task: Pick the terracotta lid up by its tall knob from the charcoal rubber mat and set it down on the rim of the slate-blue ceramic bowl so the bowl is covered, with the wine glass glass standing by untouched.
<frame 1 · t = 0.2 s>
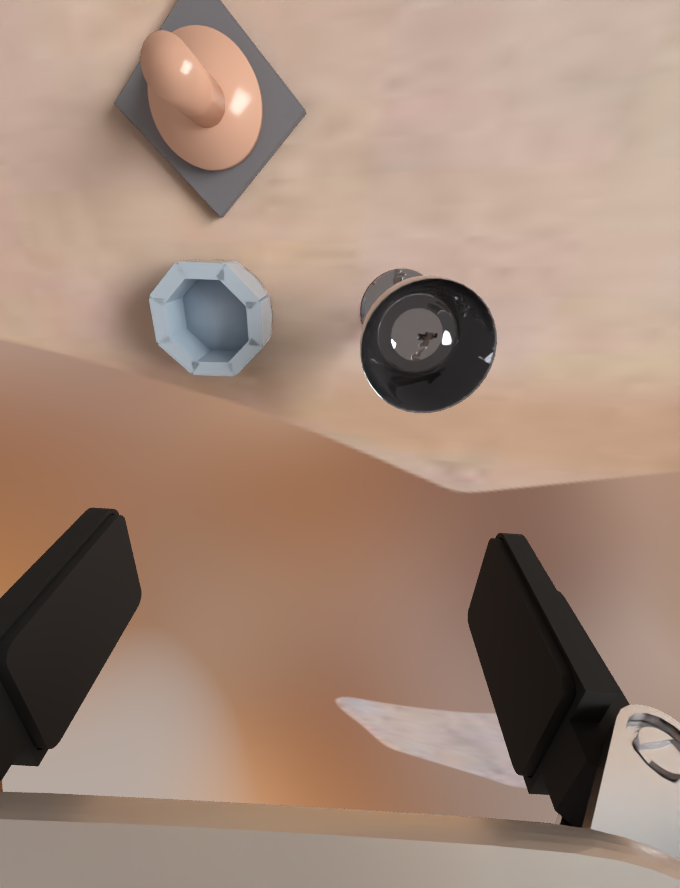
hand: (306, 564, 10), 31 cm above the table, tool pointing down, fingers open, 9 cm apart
lid: (209, 106, 29), point 1 cm above the table, touching mat
bowl: (224, 312, 37), on the table
mat: (213, 110, 30), on the table
wine glass: (399, 310, 37), on the table
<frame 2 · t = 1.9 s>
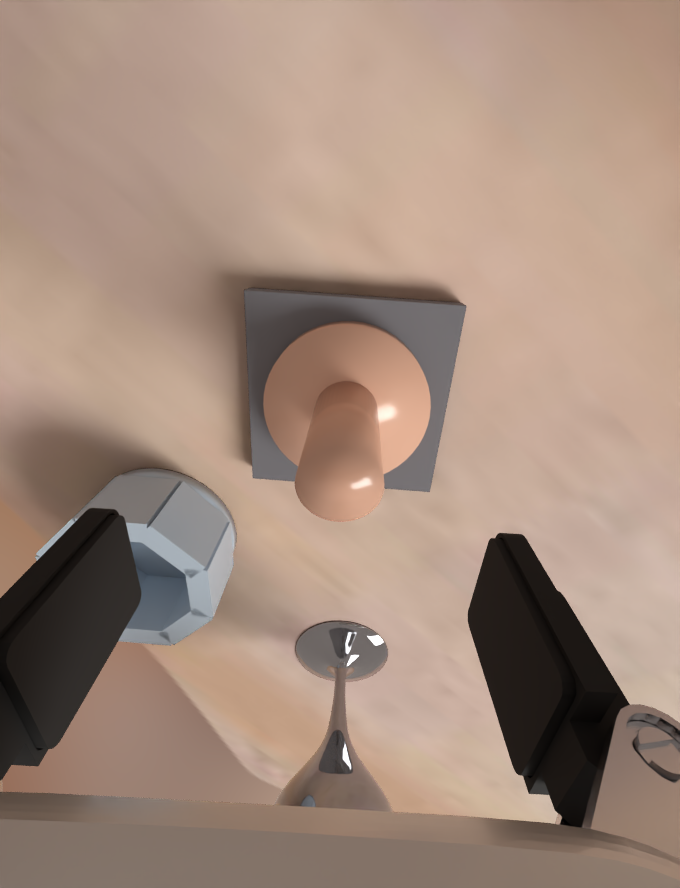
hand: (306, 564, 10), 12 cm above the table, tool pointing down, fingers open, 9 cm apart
lid: (347, 402, 20), point 1 cm above the table, touching mat
bowl: (167, 527, 26), on the table
mat: (347, 395, 21), on the table
wine glass: (341, 650, 31), on the table
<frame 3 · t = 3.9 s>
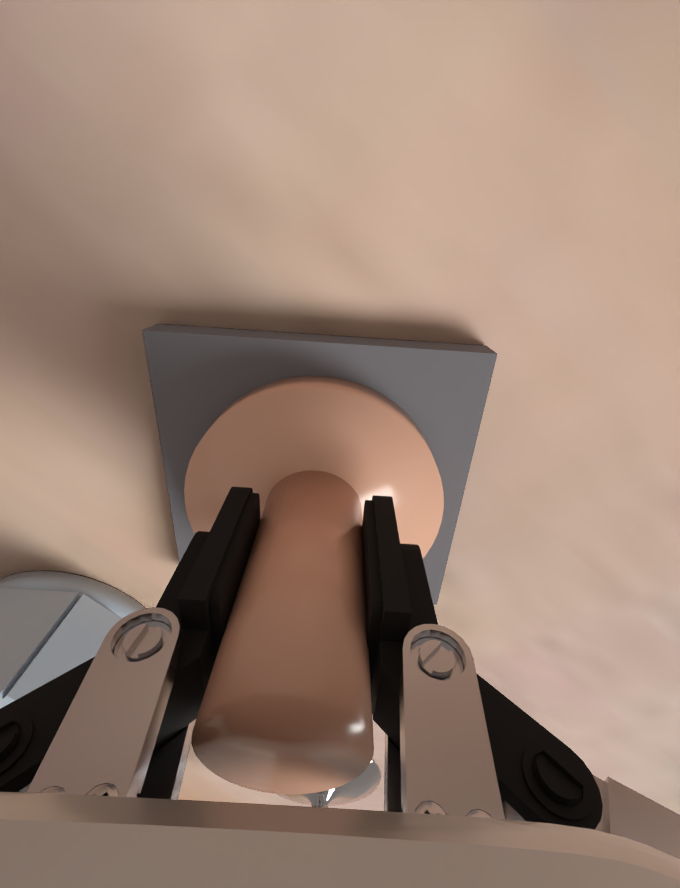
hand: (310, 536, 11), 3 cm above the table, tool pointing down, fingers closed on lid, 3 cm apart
lid: (316, 490, 13), point 1 cm above the table, touching gripper, mat
bowl: (76, 642, 19), on the table
mat: (316, 475, 14), on the table
wine glass: (321, 772, 24), on the table
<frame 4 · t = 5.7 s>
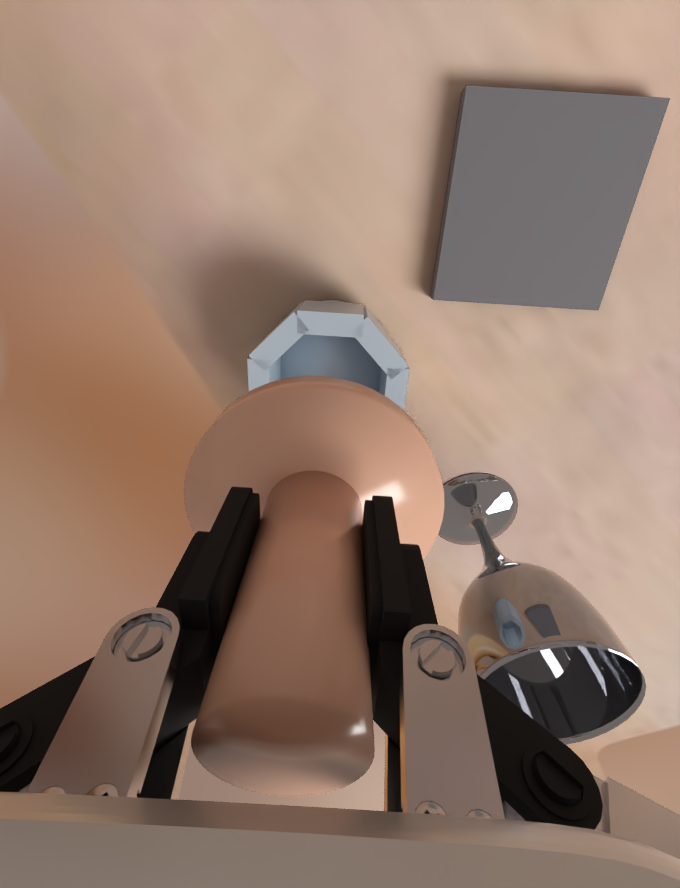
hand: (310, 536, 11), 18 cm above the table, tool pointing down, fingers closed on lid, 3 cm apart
lid: (316, 490, 13), point 15 cm above the table, touching gripper
bowl: (331, 369, 27), on the table
mat: (532, 210, 23), on the table
wine glass: (471, 509, 32), on the table
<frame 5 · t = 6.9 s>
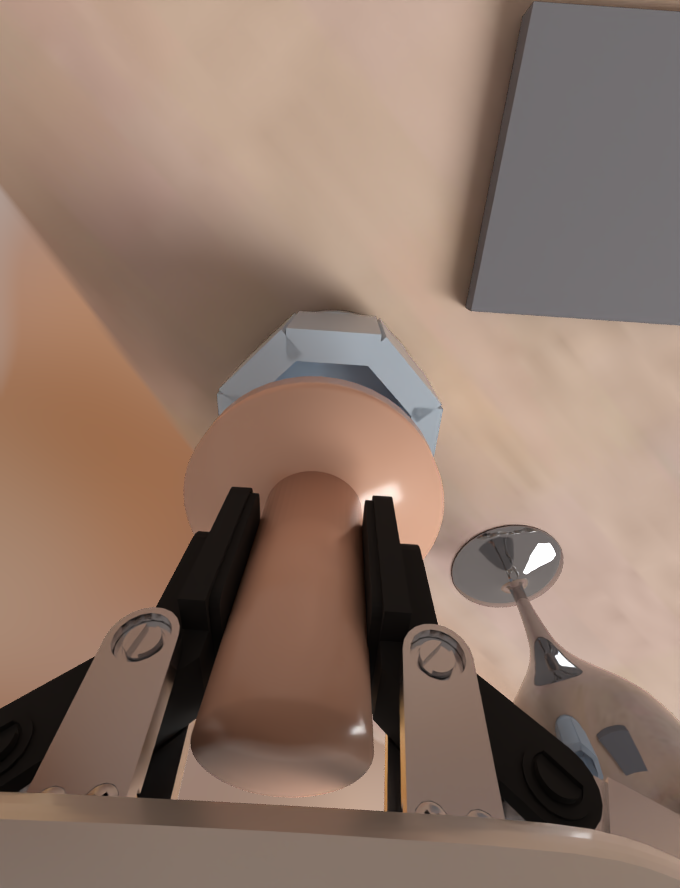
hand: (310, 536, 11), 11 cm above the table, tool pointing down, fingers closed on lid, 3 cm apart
lid: (316, 491, 13), point 9 cm above the table, touching gripper
bowl: (333, 398, 21), on the table
mat: (610, 190, 17), on the table
wine glass: (505, 566, 26), on the table
when the fingers open (9 cm above the table, at t = 8.0 s): lid drops 1 cm, resting on bowl.
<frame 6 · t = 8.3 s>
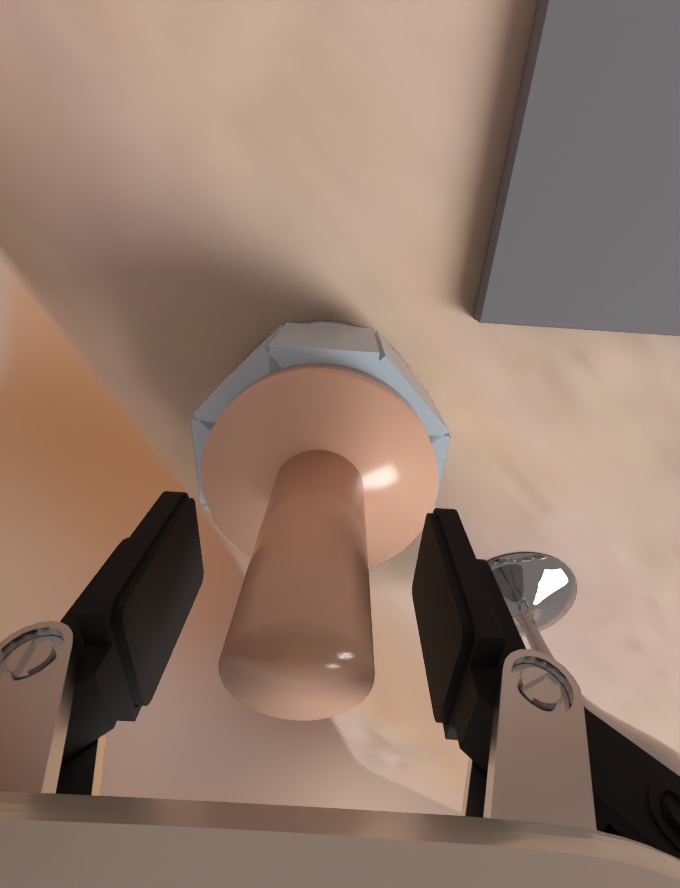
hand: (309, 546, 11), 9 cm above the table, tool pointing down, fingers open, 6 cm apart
lid: (321, 470, 15), point 5 cm above the table, touching bowl
bowl: (326, 417, 19), on the table
mat: (637, 186, 15), on the table
wine glass: (514, 595, 24), on the table
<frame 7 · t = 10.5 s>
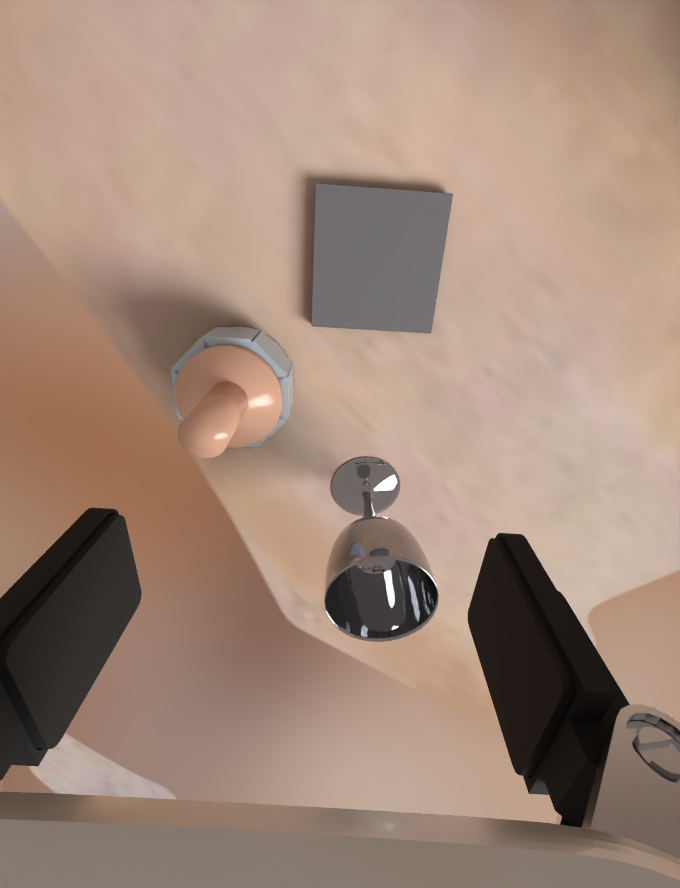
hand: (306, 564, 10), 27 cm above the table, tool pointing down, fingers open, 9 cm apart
lid: (231, 395, 31), point 5 cm above the table, touching bowl
bowl: (243, 377, 36), on the table
mat: (376, 263, 32), on the table
wine glass: (365, 486, 41), on the table
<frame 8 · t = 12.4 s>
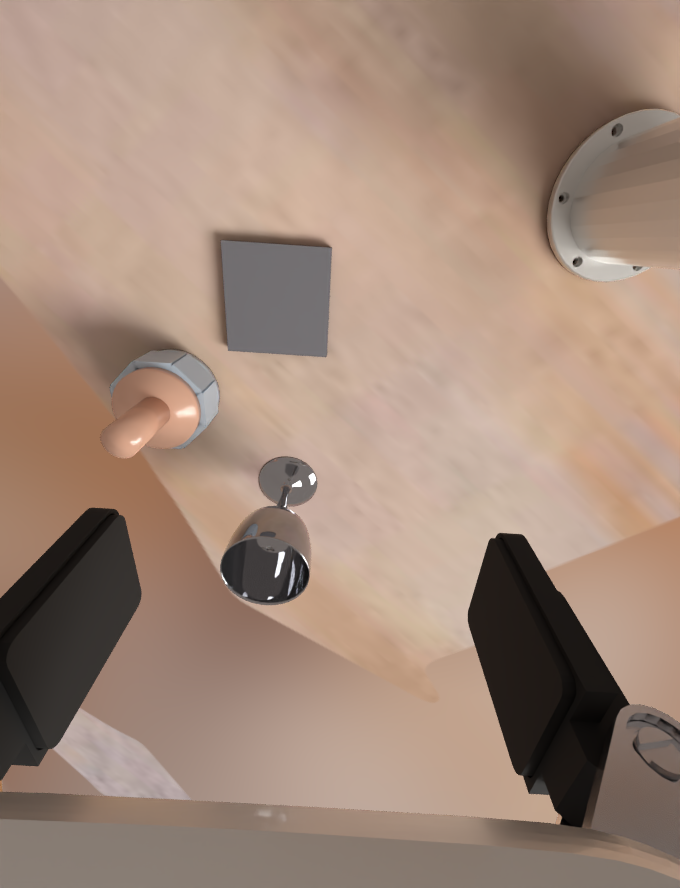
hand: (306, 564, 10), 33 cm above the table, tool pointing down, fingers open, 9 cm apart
lid: (159, 406, 39), point 5 cm above the table, touching bowl
bowl: (178, 390, 44), on the table
mat: (278, 300, 39), on the table
wine glass: (288, 481, 49), on the table
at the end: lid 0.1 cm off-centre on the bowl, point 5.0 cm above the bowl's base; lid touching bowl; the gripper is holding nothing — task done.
